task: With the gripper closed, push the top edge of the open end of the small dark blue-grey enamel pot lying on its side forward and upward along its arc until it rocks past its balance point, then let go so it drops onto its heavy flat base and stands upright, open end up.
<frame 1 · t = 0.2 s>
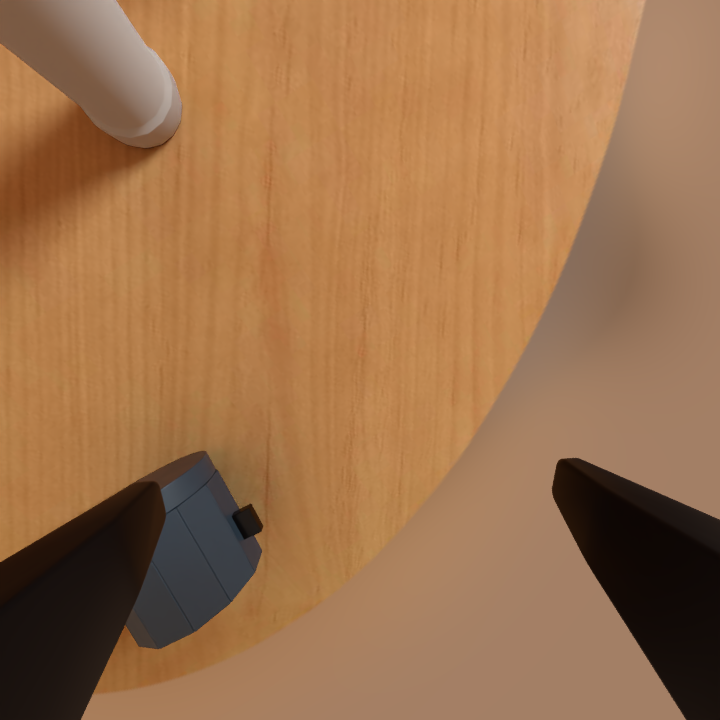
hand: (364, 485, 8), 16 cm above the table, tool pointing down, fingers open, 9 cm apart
bottle: (143, 108, 22), on the table
pot: (144, 486, 21), point 4 cm above the table
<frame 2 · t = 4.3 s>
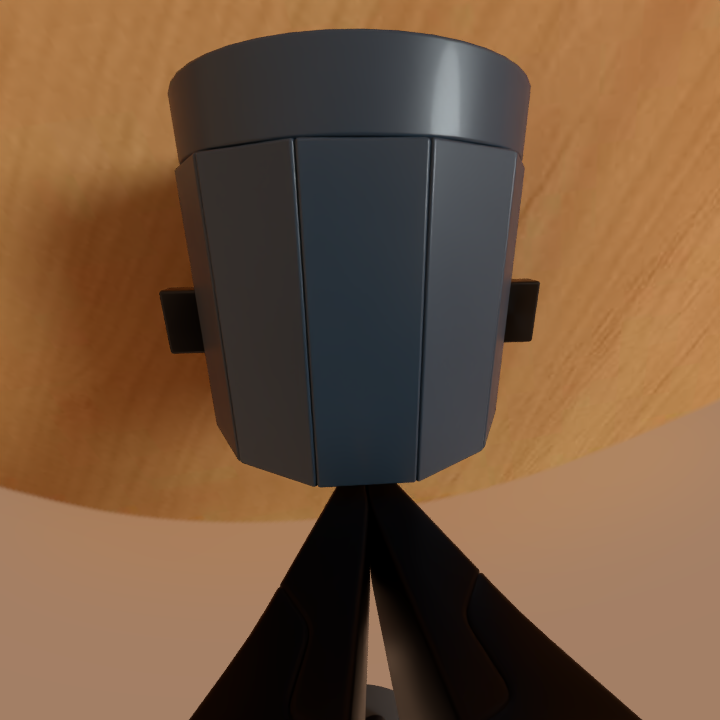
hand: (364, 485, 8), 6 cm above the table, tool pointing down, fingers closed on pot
pot: (350, 112, 8), point 4 cm above the table, touching gripper
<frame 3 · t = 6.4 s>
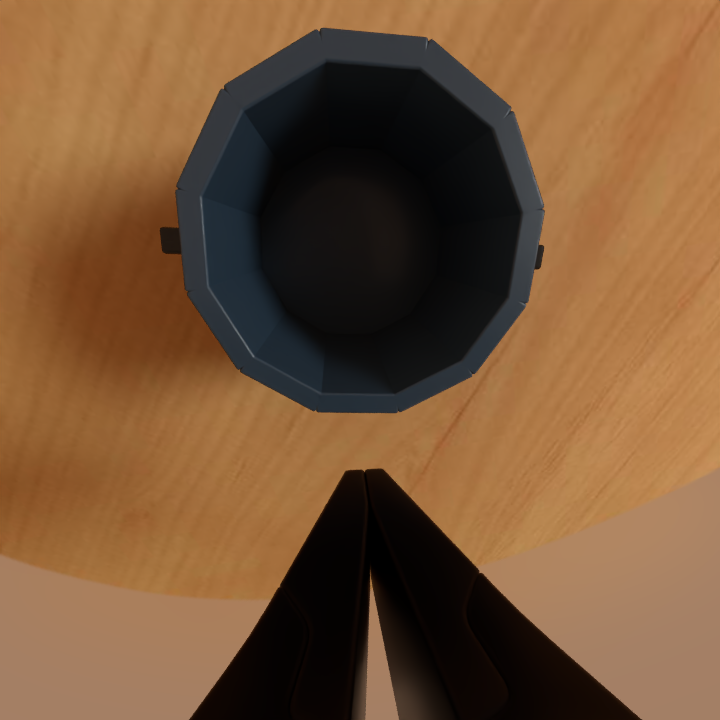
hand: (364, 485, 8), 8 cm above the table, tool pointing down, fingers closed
pot: (350, 247, 14), on the table, tilted 92°
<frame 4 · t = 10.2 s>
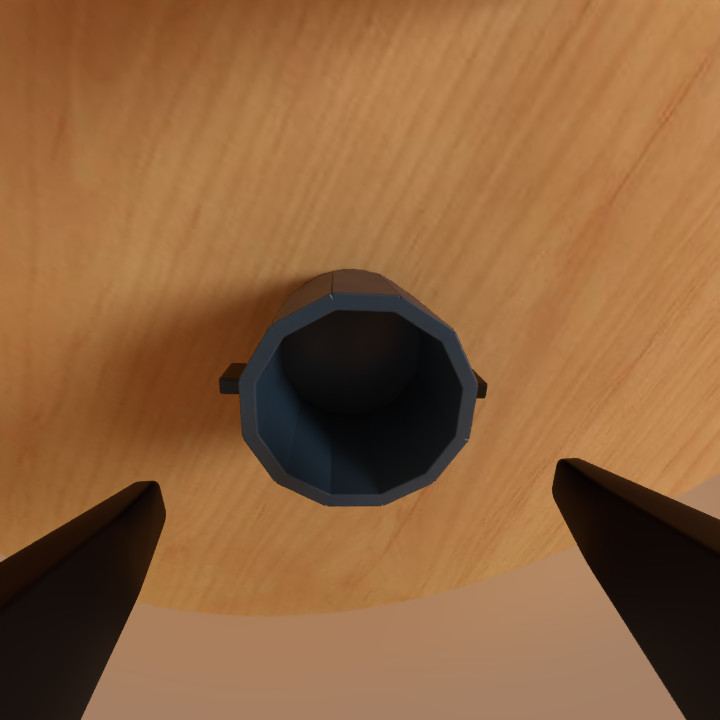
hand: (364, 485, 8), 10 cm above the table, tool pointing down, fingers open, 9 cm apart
pot: (350, 344, 18), on the table, tilted 90°
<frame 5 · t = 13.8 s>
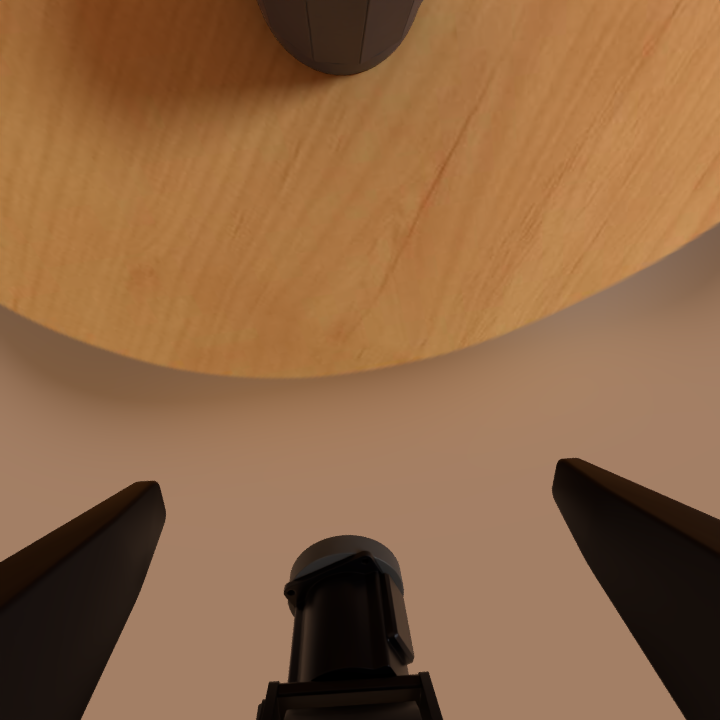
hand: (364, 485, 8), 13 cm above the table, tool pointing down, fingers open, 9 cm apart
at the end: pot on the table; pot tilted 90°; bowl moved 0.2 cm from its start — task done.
